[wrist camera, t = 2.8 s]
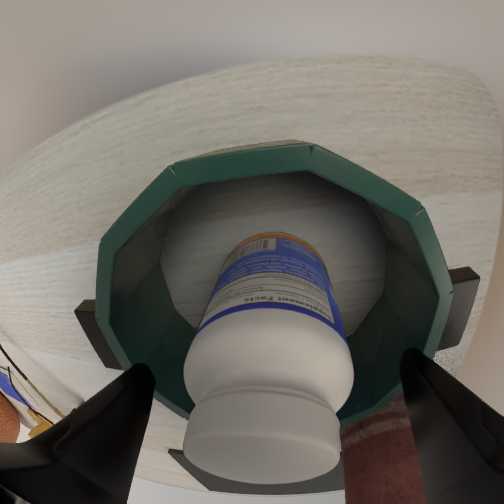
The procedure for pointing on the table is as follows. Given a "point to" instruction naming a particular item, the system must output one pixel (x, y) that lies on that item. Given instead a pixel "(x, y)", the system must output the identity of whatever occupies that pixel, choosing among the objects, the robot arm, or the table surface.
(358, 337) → the pot
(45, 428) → the cup
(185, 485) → the table surface
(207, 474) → the mat
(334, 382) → the pill bottle
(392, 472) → the can
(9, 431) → the planter
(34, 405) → the hard drive
